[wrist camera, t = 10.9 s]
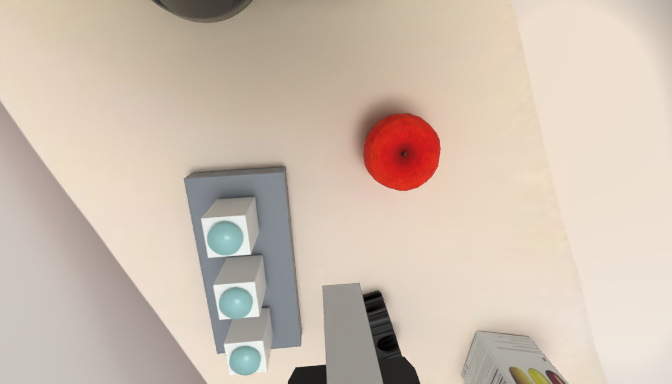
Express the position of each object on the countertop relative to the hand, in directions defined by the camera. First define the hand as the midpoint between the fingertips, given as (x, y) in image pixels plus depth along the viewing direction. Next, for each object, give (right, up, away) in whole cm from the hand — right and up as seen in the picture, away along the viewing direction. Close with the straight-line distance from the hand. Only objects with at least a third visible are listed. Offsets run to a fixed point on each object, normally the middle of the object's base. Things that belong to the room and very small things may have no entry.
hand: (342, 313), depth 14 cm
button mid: (-12, -6, +31) cm, 34 cm away
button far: (-12, -13, +34) cm, 38 cm away
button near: (-12, +2, +29) cm, 31 cm away
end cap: (+4, -15, +39) cm, 42 cm away
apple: (+7, +11, +31) cm, 34 cm away
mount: (-12, -5, +35) cm, 37 cm away
